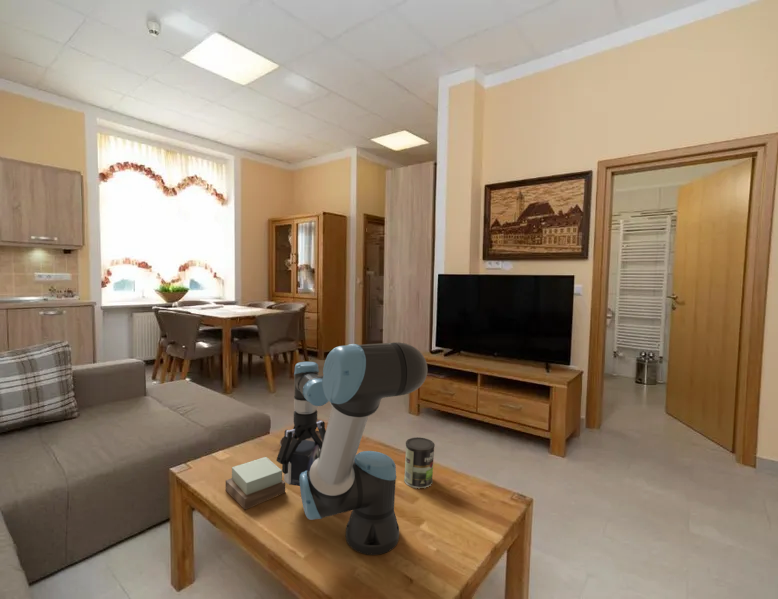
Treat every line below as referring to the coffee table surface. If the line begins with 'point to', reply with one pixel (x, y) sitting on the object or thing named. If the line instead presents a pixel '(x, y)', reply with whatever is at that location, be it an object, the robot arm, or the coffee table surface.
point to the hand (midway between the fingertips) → (304, 475)
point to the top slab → (256, 475)
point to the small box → (303, 459)
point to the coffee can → (419, 462)
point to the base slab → (255, 497)
